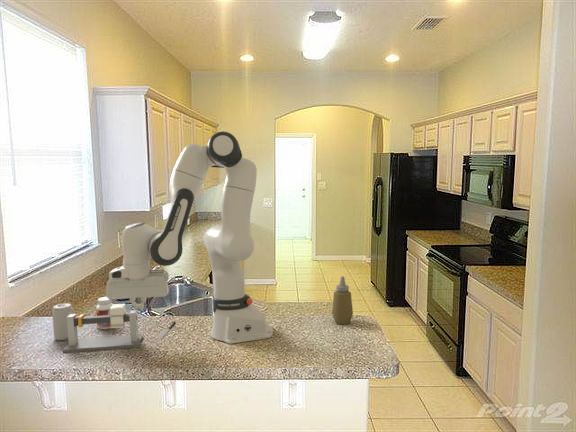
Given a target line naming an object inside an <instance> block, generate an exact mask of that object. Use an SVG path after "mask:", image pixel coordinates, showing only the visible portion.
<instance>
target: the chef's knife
mask: <svg viewBox="0 0 576 432" xmlns="http://www.w3.org/2000/svg"><path fill="white" fill-rule="evenodd" d="M175 325H176V322H175V321H173V322H172V323H171V324H170V326H168V327H167V328H163V329H162V330H161V331H160V333H159V334H158V335H157V341H158V342H161V340H162V339H164V337H165V336H166V335H167V334H168V332H170V331H171V329H172V328H173V327H174V326H175Z"/></svg>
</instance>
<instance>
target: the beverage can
mask: <svg viewBox="0 0 576 432" xmlns="http://www.w3.org/2000/svg"><path fill="white" fill-rule="evenodd" d="M52 307H53V308H52V310H51V311H52V312H51V313H52V314H51V315H52V327H53V338H54V339H55V340H57V341H60V340H62V341H67V340H66V339H68V326H67V317H68V316H69V315H70V314H74V313H73V312H74V311H73V306H72V304H71V303H66V302H65V303H58V304H55V305H54V306H52Z"/></svg>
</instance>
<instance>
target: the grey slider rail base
mask: <svg viewBox="0 0 576 432" xmlns="http://www.w3.org/2000/svg"><path fill="white" fill-rule="evenodd" d="M123 318H124V322H126V323H127V322H129V331H130V332H129V333H130V335H117V336H116V335H115V336H101V337H87V338H86V337H85V338H78V337H79V336H78V328H82V327H83V326H84V325H97V323H111V320H110V315H103V316H97V315H90V316H85V314H84V313H81V314H78V315H77V313H73V314H70V315H69V316H68V317H67V326H68V340H67V341H68V343H67V344H66V345H65V346H64V348H63V349H62V353H75V352H89V351H90V352H93V351H105V350H108V351H109V350H119V349H121V350H122V349H134V348H139V347H140V345H141V343H142V340H143V338H144V334H139V323H138V322H139V320H138V310H134V309H133V310H130V312H129V313H126V314H124V315H123Z"/></svg>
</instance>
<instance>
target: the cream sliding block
mask: <svg viewBox="0 0 576 432" xmlns="http://www.w3.org/2000/svg"><path fill="white" fill-rule="evenodd" d="M112 304H113V305H112V307H111V308H110V320H111V328H110V329H119V328H121V329H122V328H124V327H125V325H126V324H127V322H124V318H123V315H124V314H127V311H126V303H117V304H116V303H115V304H114V303H112Z"/></svg>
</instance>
